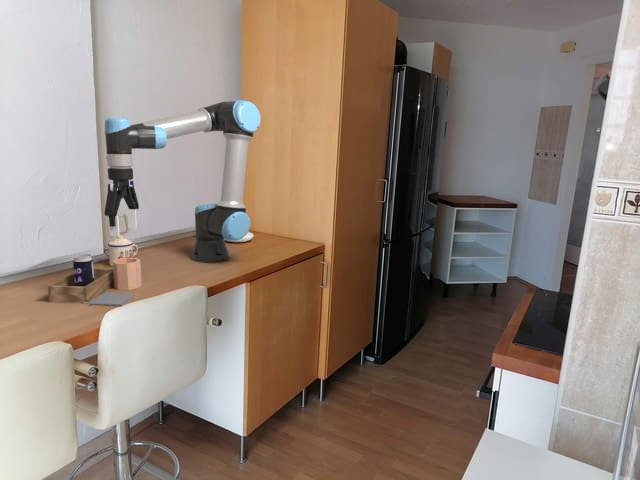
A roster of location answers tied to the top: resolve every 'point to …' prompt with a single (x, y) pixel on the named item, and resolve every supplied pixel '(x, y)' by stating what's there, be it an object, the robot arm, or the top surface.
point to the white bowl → (244, 239)
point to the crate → (71, 293)
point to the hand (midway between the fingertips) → (124, 232)
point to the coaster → (112, 299)
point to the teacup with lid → (121, 249)
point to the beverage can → (83, 270)
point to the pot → (127, 273)
